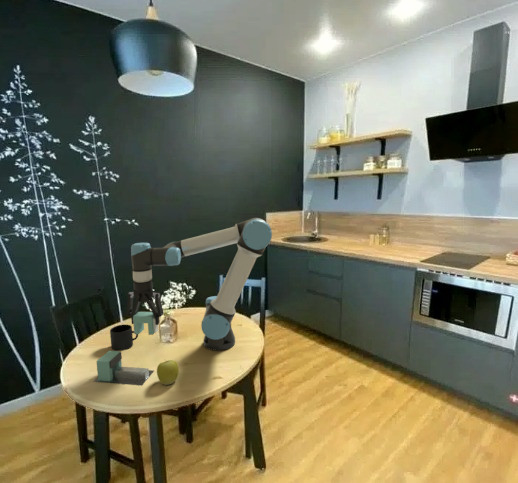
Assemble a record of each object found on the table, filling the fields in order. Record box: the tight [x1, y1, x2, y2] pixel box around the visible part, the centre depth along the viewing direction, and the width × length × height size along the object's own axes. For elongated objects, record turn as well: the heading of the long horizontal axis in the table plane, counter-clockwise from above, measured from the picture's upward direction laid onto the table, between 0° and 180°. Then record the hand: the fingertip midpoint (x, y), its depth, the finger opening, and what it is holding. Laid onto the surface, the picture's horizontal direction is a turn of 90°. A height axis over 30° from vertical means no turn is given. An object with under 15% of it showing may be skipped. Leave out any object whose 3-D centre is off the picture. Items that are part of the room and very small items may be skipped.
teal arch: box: [133, 311, 155, 336], centre depth 133 cm, size 6×8×8 cm
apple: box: [156, 359, 180, 386], centre depth 118 cm, size 8×8×10 cm
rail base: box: [92, 366, 155, 386], centre depth 122 cm, size 20×10×3 cm, turn 82°
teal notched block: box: [96, 350, 123, 381], centre depth 122 cm, size 6×8×8 cm
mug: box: [109, 324, 139, 351], centre depth 147 cm, size 9×12×9 cm
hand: (146, 331), depth 133 cm, fingers closed on teal arch, 8 cm apart
